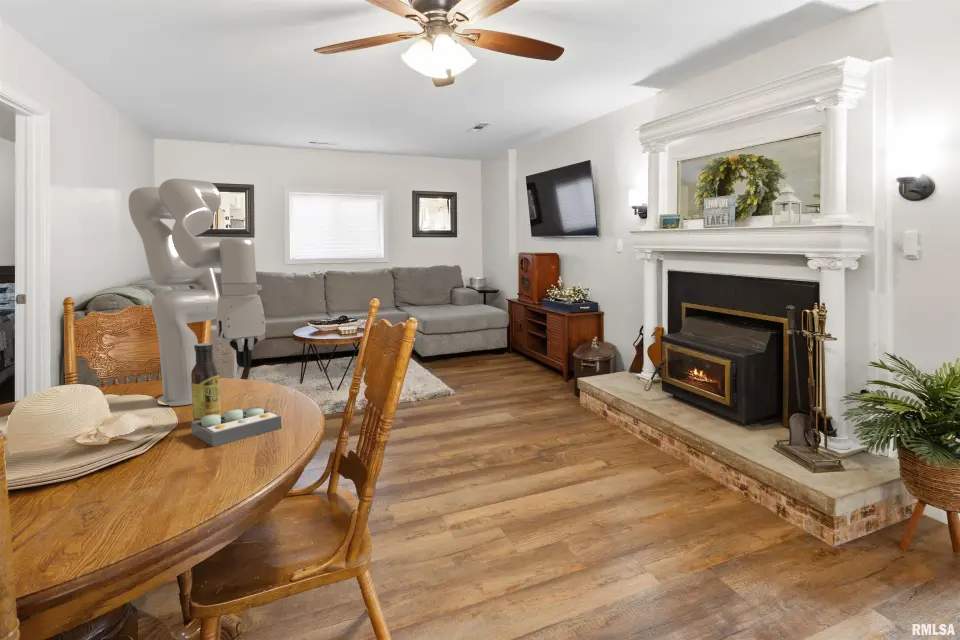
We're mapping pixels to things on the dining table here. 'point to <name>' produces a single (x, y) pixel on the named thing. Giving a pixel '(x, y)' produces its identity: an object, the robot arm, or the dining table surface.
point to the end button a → (210, 420)
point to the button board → (236, 428)
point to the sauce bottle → (205, 383)
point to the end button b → (254, 412)
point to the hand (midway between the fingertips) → (244, 366)
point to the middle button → (233, 415)
